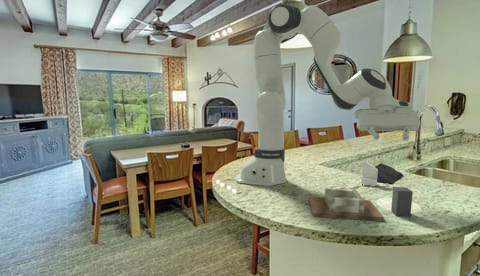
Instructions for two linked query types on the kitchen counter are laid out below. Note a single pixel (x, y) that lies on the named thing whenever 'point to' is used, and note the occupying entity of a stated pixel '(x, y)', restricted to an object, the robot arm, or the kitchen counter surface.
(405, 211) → the black plug
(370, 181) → the white wedge bracket
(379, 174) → the dark slate chunk
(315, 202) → the socket block
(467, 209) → the kitchen counter surface
